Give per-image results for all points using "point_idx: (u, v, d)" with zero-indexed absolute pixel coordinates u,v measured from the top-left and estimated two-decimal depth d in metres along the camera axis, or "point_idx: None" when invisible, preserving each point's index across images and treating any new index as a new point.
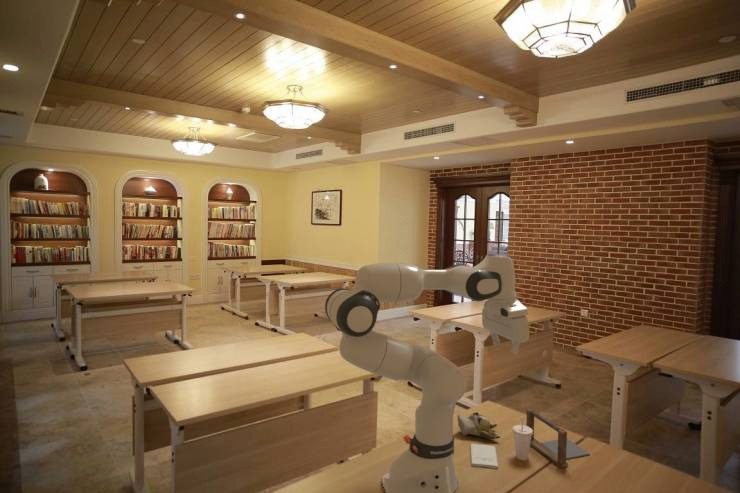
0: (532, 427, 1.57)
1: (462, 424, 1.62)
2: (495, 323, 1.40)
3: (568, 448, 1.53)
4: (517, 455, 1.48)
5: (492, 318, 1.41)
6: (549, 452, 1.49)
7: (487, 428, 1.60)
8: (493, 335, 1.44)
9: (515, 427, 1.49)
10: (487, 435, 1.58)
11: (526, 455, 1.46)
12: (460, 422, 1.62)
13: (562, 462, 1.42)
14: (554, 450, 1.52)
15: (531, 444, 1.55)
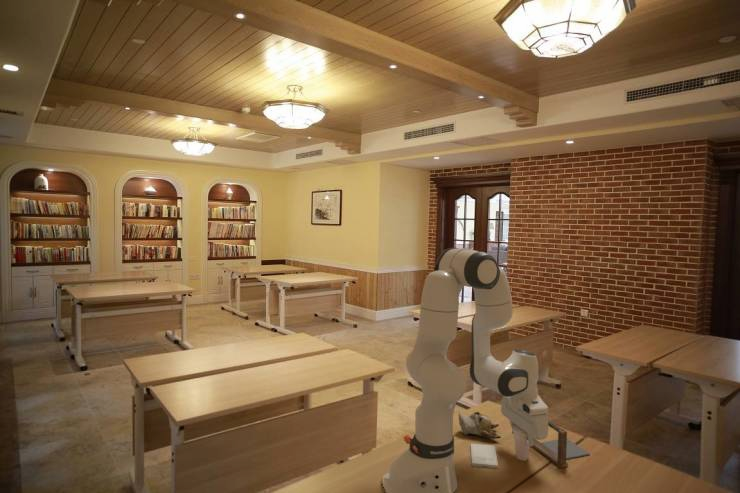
0: None
1: (463, 423, 1.62)
2: (515, 414, 1.48)
3: (568, 448, 1.53)
4: (517, 455, 1.48)
5: (512, 408, 1.50)
6: (549, 452, 1.49)
7: (488, 428, 1.61)
8: (512, 424, 1.52)
9: (515, 427, 1.49)
10: (487, 435, 1.58)
11: (526, 455, 1.46)
12: (461, 421, 1.63)
13: (562, 462, 1.42)
14: (554, 450, 1.52)
15: None
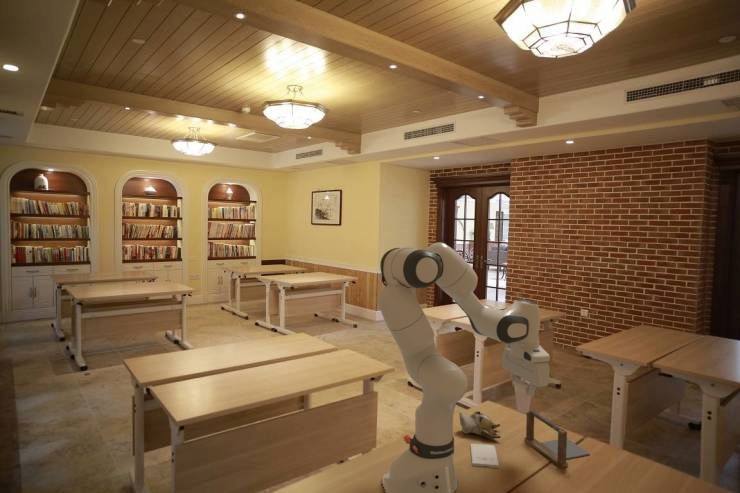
0: (532, 427, 1.57)
1: (463, 422, 1.63)
2: (516, 365, 1.47)
3: (568, 448, 1.53)
4: (517, 408, 1.46)
5: (513, 360, 1.49)
6: (549, 452, 1.49)
7: (488, 427, 1.61)
8: (513, 377, 1.51)
9: (516, 380, 1.48)
10: (487, 434, 1.59)
11: (527, 407, 1.45)
12: (462, 420, 1.64)
13: (562, 462, 1.42)
14: (554, 450, 1.52)
15: (531, 444, 1.55)
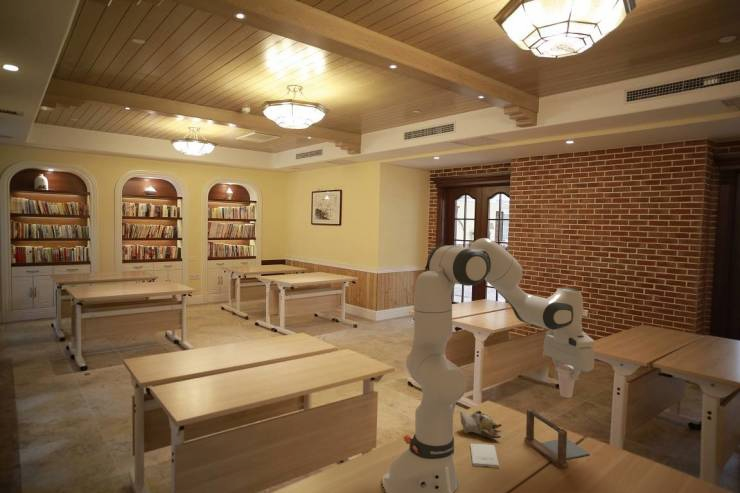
0: (532, 427, 1.57)
1: (464, 421, 1.64)
2: (559, 351, 1.52)
3: (568, 448, 1.53)
4: (561, 393, 1.51)
5: (556, 346, 1.54)
6: (549, 452, 1.49)
7: (489, 427, 1.61)
8: (555, 362, 1.55)
9: (559, 366, 1.53)
10: (487, 434, 1.59)
11: (570, 392, 1.50)
12: (462, 420, 1.65)
13: (562, 462, 1.42)
14: (554, 450, 1.52)
15: (531, 444, 1.55)
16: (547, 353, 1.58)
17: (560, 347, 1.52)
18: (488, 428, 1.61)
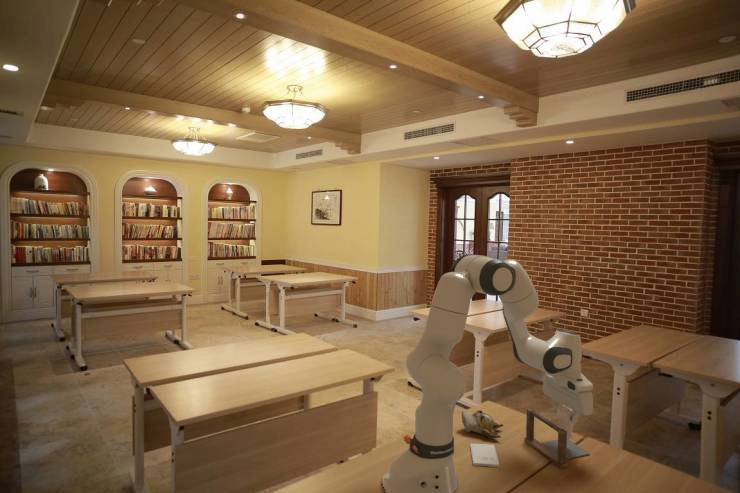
0: (532, 427, 1.57)
1: (465, 420, 1.64)
2: (558, 392, 1.53)
3: (568, 448, 1.53)
4: None
5: (555, 387, 1.55)
6: (549, 452, 1.49)
7: (489, 427, 1.61)
8: (555, 403, 1.56)
9: (558, 407, 1.54)
10: (488, 433, 1.59)
11: (570, 434, 1.51)
12: (463, 419, 1.65)
13: (562, 462, 1.42)
14: (554, 450, 1.52)
15: (531, 444, 1.55)
16: (546, 393, 1.59)
17: (559, 388, 1.53)
18: (488, 428, 1.61)
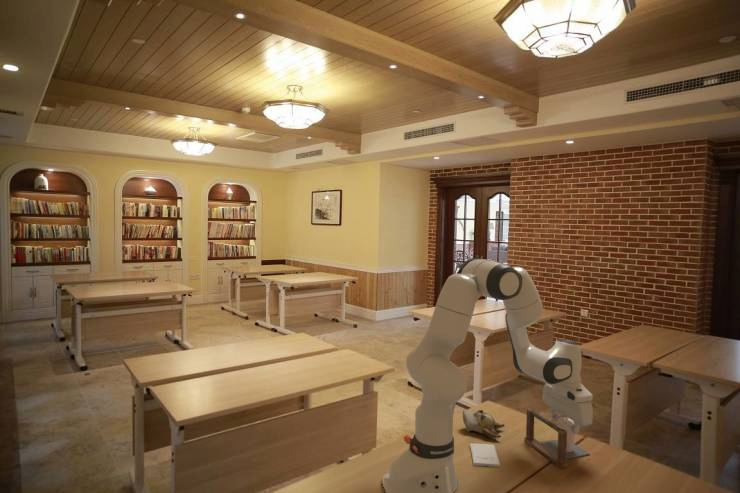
0: (532, 427, 1.57)
1: (465, 420, 1.65)
2: (557, 402, 1.53)
3: None
4: None
5: (554, 396, 1.55)
6: (549, 452, 1.49)
7: (490, 426, 1.62)
8: (553, 411, 1.58)
9: (559, 420, 1.53)
10: (488, 433, 1.59)
11: (571, 447, 1.50)
12: (464, 418, 1.66)
13: (562, 462, 1.42)
14: (554, 450, 1.52)
15: (531, 444, 1.55)
16: (546, 402, 1.59)
17: (559, 398, 1.53)
18: (489, 427, 1.61)
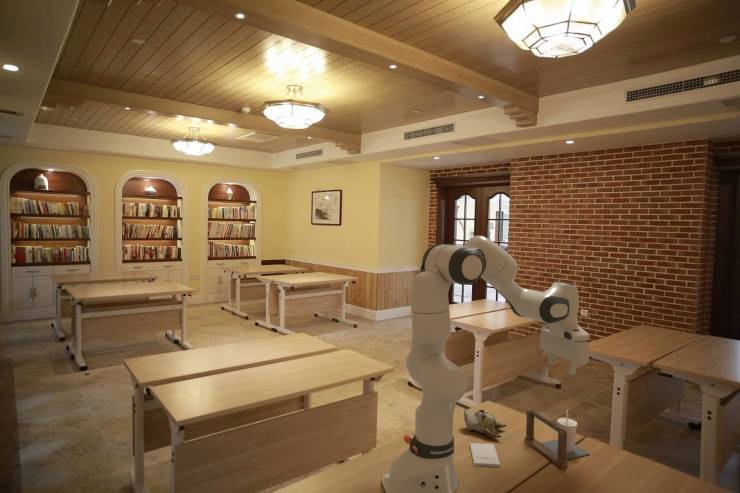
0: (532, 427, 1.57)
1: (466, 419, 1.66)
2: (554, 345, 1.53)
3: None
4: None
5: (551, 340, 1.55)
6: (549, 452, 1.49)
7: (490, 426, 1.62)
8: (550, 356, 1.57)
9: (559, 420, 1.53)
10: (488, 433, 1.60)
11: (571, 447, 1.50)
12: (465, 417, 1.67)
13: (562, 462, 1.42)
14: (554, 450, 1.52)
15: (531, 444, 1.55)
16: (543, 347, 1.58)
17: (556, 341, 1.52)
18: (489, 427, 1.62)
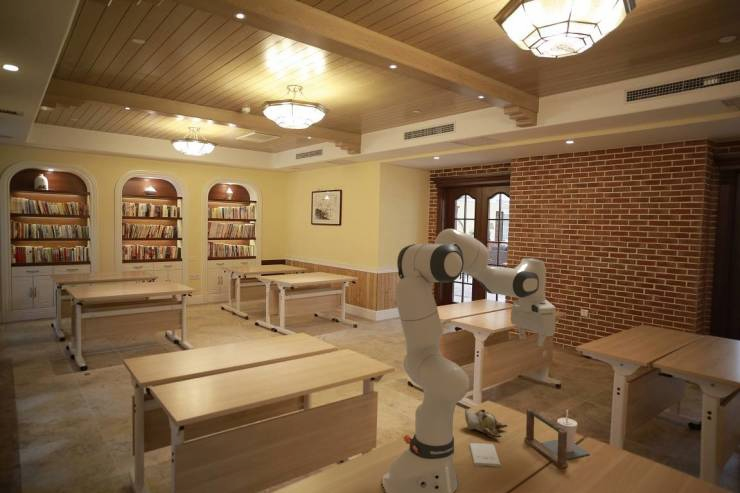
0: (532, 427, 1.57)
1: (467, 418, 1.66)
2: (524, 319, 1.59)
3: None
4: None
5: (521, 314, 1.61)
6: (549, 452, 1.49)
7: (491, 426, 1.62)
8: (520, 330, 1.63)
9: (559, 420, 1.53)
10: (488, 432, 1.60)
11: (571, 447, 1.50)
12: (466, 416, 1.67)
13: (562, 462, 1.42)
14: (554, 450, 1.52)
15: (531, 444, 1.55)
16: (514, 322, 1.65)
17: (525, 315, 1.59)
18: (490, 427, 1.62)
